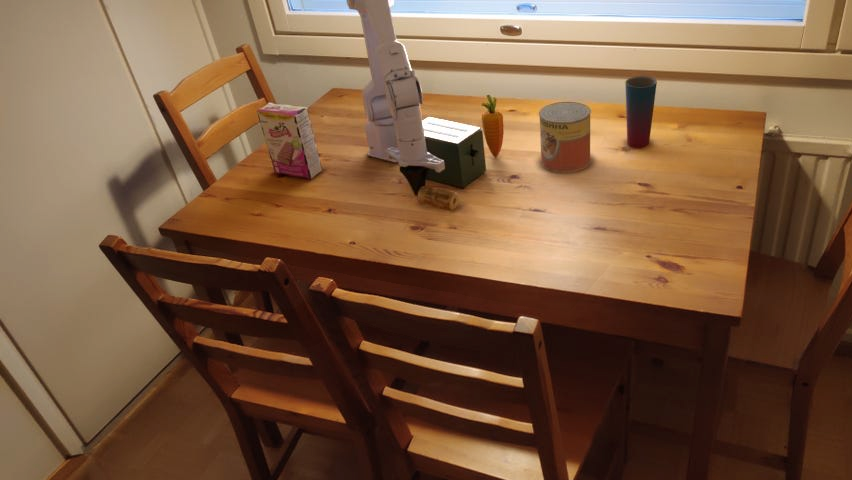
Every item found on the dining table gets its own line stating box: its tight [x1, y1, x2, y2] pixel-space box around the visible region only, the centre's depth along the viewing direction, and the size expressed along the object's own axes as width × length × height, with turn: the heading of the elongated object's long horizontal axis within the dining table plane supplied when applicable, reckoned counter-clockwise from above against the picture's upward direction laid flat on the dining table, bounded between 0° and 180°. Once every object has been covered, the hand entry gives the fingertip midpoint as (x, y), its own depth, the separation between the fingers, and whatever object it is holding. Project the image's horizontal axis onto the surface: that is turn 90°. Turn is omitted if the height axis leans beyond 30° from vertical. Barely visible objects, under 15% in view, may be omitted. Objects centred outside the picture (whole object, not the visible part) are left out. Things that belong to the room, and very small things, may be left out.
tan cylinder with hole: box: [417, 185, 460, 211], centre depth 145 cm, size 8×4×4 cm, turn 61°
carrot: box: [481, 93, 505, 158], centre depth 158 cm, size 5×5×15 cm
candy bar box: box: [256, 102, 323, 180], centre depth 160 cm, size 11×5×16 cm, turn 65°
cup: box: [624, 75, 658, 149], centre depth 157 cm, size 7×7×15 cm
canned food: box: [538, 101, 592, 174], centre depth 154 cm, size 11×11×12 cm
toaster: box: [422, 116, 487, 190], centre depth 154 cm, size 16×9×11 cm, turn 55°
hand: (419, 194), depth 148 cm, fingers closed
